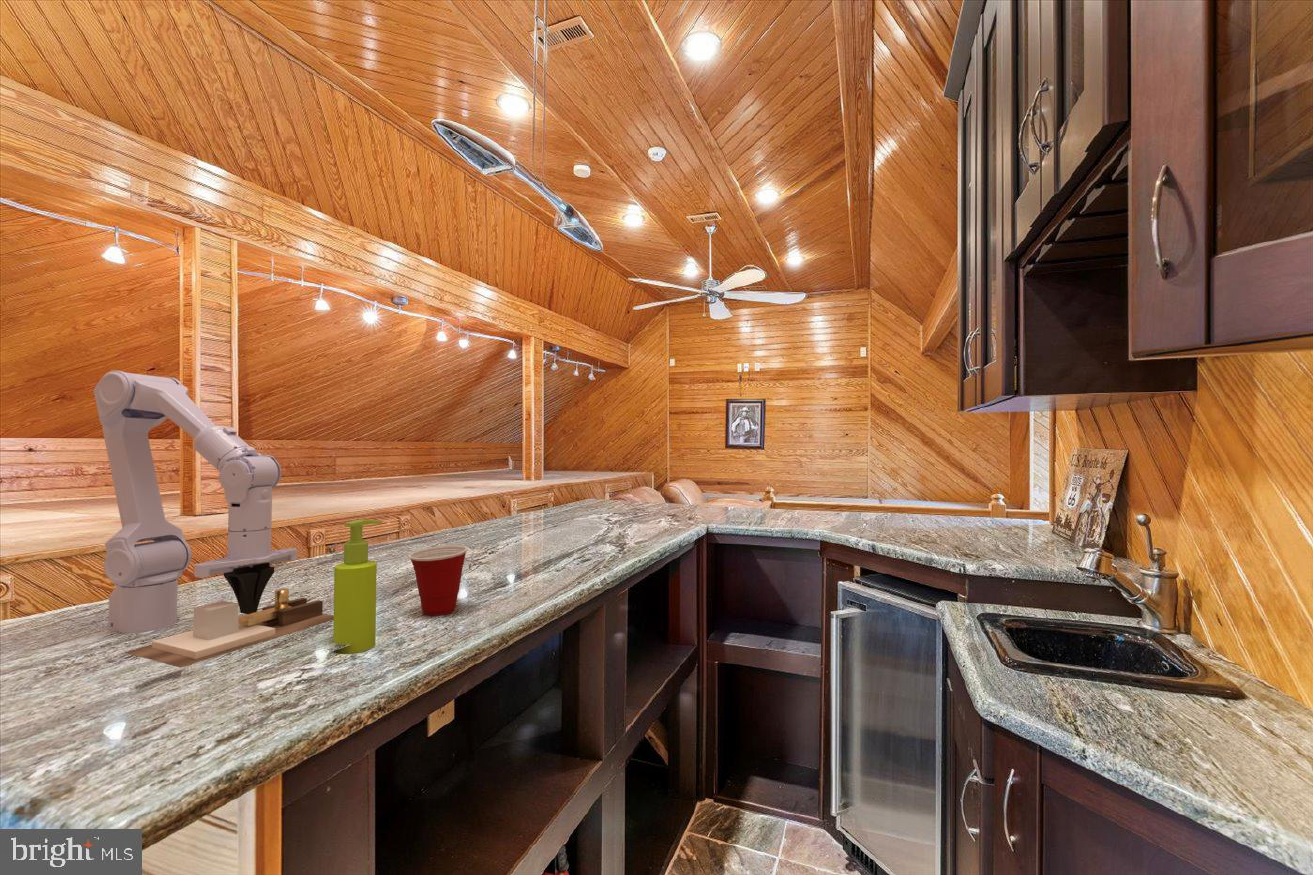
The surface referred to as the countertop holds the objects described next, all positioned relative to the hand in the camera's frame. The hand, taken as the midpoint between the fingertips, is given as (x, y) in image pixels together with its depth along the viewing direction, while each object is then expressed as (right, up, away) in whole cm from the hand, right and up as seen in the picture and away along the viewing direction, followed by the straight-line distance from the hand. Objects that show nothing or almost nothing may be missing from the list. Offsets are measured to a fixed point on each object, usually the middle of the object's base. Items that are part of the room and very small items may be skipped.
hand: (248, 612), depth 89 cm
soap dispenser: (+19, -5, -2) cm, 20 cm away
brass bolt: (+1, -2, +3) cm, 3 cm away
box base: (0, -5, -1) cm, 5 cm away
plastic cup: (+25, -5, +16) cm, 30 cm away
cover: (-2, -3, -4) cm, 6 cm away
